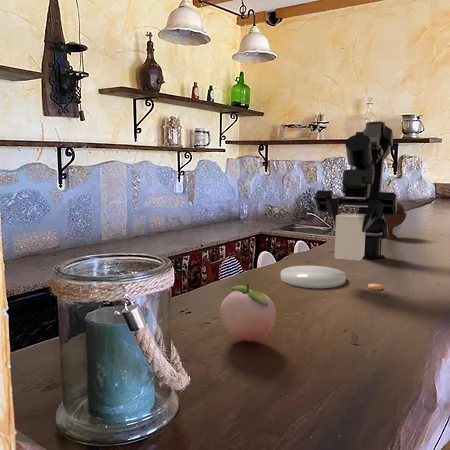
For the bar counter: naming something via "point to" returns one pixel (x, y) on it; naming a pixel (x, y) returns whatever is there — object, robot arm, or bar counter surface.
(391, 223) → the ice cream bowl
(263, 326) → the decorative fruit
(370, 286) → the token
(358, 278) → the bar counter surface
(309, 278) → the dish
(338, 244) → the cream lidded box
